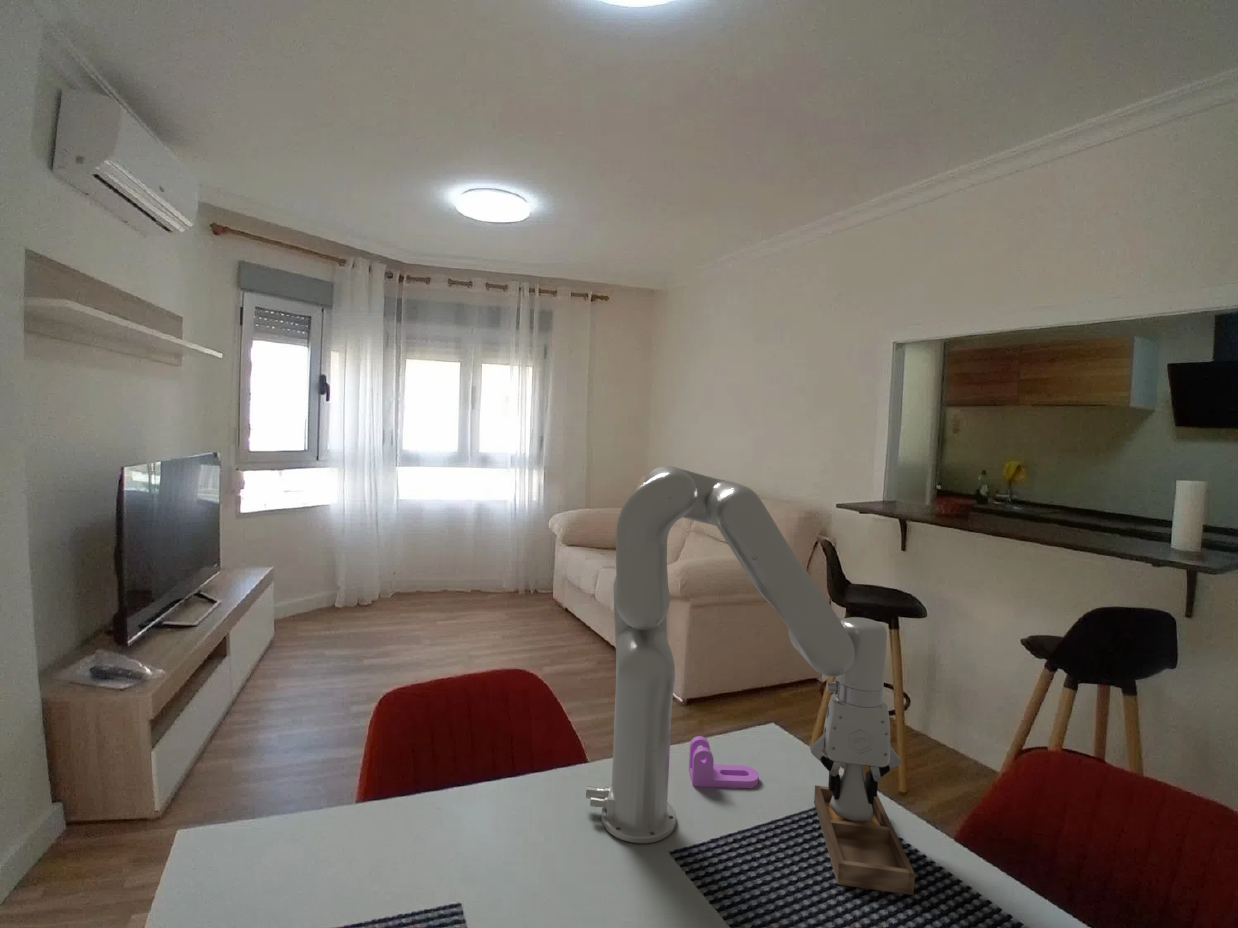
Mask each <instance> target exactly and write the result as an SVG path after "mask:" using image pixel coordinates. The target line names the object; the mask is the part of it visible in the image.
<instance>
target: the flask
mask: <svg viewBox="0 0 1238 928" xmlns="http://www.w3.org/2000/svg"><path fill="white" fill-rule="evenodd" d="M841 775H842V777H841V779H840V795H839V799H838V800H835V799H834V796H832V798H831V801H830V804H829V806H830V807H831V808H832V810H833V811H834V812H835V813H836V815H837V816H840V817H843V818H846V819H849V820H852V821H871V820H872V816H873V808H872V805H871V804H870V803H869V801H868V793H867V788H866V784H865V777H864V770H863V765H854V764H846V763H845V766H844V769H843V772H842V774H841Z"/></svg>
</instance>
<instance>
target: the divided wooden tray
mask: <svg viewBox="0 0 1238 928" xmlns="http://www.w3.org/2000/svg"><path fill="white" fill-rule="evenodd" d="M839 775H840V779H841V777H842V775H843V774H839ZM832 796H833V793H832V791H829V787H828V786H825V785H824V786H823V785H814V796H813V797H814V798H813V799H814V801H813V804H814V807H815V812H816V813H817V817H818V821H819V824H820V828H821V833H822V835H823V839H824V842H825V846H826V849H827V851H828V852H827V853H828V855H829V859H830V864H831V867H832V870H833V874H834V877H835V881H836V883H837V885H841V886H848V887H853V888H854V887H855V888H860V889H868V890H874V891H881V892H887V893H889V892H890V893H896V894H902V895H903V894H905V895H910V896H914V894H915V893H914V892H915V879H916V877H915V876H916V873H915V871H914V869H913V866H912V864H911V862H910V859H908V857H907V855H906V852H905V850H904V848H903V845H902V844H901V842H900V839H899V837H898V835H897V833H896V831H895V829H894V826H893V824H892V822H891V820H890V818H889V815H888V814H887V812H886V809H885V808H884V806H883V804H882V801H881V799H880V797H879V795H878V794H877V797H874V803H873V804H871V805H872V808H873V816H872V820H871V821H852V820H849V819H846V818H843V817H840V816H837V815H836V813H835V812H834V811H833V810H832V808H831V807H830V806H829V804H830V801H831V798H832Z"/></svg>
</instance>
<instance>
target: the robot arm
mask: <svg viewBox="0 0 1238 928" xmlns="http://www.w3.org/2000/svg"><path fill="white" fill-rule="evenodd" d="M682 518H683V519H688V520H691V521H695V522H698V523H703V524H708V525H712V526H715V527H717V529H718V530H719V532H720V533H721V535H722V537H723V538H724V540H725V541H726V543H727V545H728V546H729V548H730V549H731V552H732V553H733V554H734V556H735V558H736V559H737V560H738V562H739V564H740V566H741V567H742V569H743V571H744V572H745V573H746V575H747V577H748V578H749V580H750V581H751V584H753V586H754V587H755V589H756V590H757V591H758V593H759V594H760V595H761V597H763V598H764V600H765V601H766V602H768V604H769V605H770V606H771V607H772V608H773V609H774V611H775V612H776V613H777V614H778V615H779V617H780V618H781V619H782V621H783V623H785V625H786V627H787V628H788V638H789V641H790V643H791V644H792V646H793V648H794V649H795V650H796V651H797V653H799V655H801V657H803V659H804V660H805V661H807V663H808V664H809V665H810V666H811V667H812V669H814V670H815V671H816V672H818V673H819V674H821V675H824V676H826V677H831V678H833V677H834V680H833V682H826V691H827V692H831V693H832V694H831V695H830V698H829V701H828V705H827V709H826V714H825V721H824V726H823V734H821V736H820V737H819V738H818V739H817V740H815V741H814V743H812V744H811V746H810V747H809V750H810V753H811V755H812V756H813V757H815V758H816V759H817V760H818V761H820V763H821V764H822V765H823V767H824V768H825V769H826V770H827V771H828V785H827V787H829V791H832V793H833V796H834V799H835V800H838V799H839V795H840V775H841V774H840V769H841V766H842V764H845V765H846V764H854V765H862V767H868V770H867V771H866V773H865V777H864V780H865V784H866V788H867V793H868V801H869V803H870V804H873V803H874V797H877V795H878V788H879V787H878V785H879V782H880V781H881V780H882V777H884V776H885V775H887V774H888V772H890V770H891V769H895V768H896V767H898V766H899V765H901V763H902V761H901V759H900V758H899V756H898V754H897V753H896V751H895V750H894V749H893V747H892V746H891V724H890V723H891V722H890V714H889V708H888V704H886V703H885V702H884V684H885V672H886V671H885V670H886V669H885V668H886V656H887V655H886V654H887V643H888V642H887V641H888V640H887V639H888V631H887V629H886V627H885V626H884V625H883V624H882V622H881V623H880V622H879V621H876V620H874V619H871V618H866V617H859V616H858V617H857V616H853V617H852V616H850V617H846V618H845V617H838V615H837V613H836V612H835V610H834V609H833V608H832V605H831V604H830V603H829V602H828V600H827V598H826V596H825V595H823V593H822V592H821V590H820V588H819V587H818V586H817V585H816V584H815V581H814V580H813V579H812V578H811V576H810V575H809V573H808V571H807V569H806V568H805V567H804V565H803V564H802V563H801V561H800V560H799V558H798V556H796V554H795V552H794V551H793V549H792V548H791V546H790V545H789V543H788V542H787V540H786V538H785V537H784V535H783V534H782V531H780V529H779V527H778V525H777V524H776V522H775V520H774V519H773V517H772V516H771V514H770V512H769V510H768V509H767V507H766V506H765V504H764V502H763V501H762V500H761V497H759V495H758V494H757V493H756V492H755V491H754V490H753V489H752V488H750V487H748V486H746V485H742V484H739V483H736V482H734V481H733V482H732V481H729V480H724V479H719V478H715V477H712V476H707V475H704V474H701V473H697V472H694V471H693V472H692V471H690V470H687V469H683V468H679V467H677V466H671V465H661V466H659V467H657V468H654V469H653V470H652V471H650V472H649V473H648V474H647V476H646V477H645V479H644V481H643V483H642V484H641V485H640V486H638V487H637V488H636V489H635V490H634V491H633V492H632V493H631V495H630V496H629V497H628V498H627V499H626V501H625V503H624V504H623V506H622V507H621V510H620V513H619V515H618V518H617V523H616V532H615V533H616V535H615V552H616V553H615V571H616V572H615V573H616V576H615V578H614V582H613V613H614V617H613V618H614V635H615V662H616V663H615V664H616V665H615V666H616V667H615V670H616V671H615V674H616V675H615V696H614V697H615V700H614V717H613V745H612V747H613V750H612V771H611V773H612V774H611V784H610V786H605V788H603V787H598V786H592V785H587V787H586V790H585V791H586V793H585V798H586V799H590V801H589V802H590V803H589V806H590V807H596V808H599V807H600V808H601V814H600V815H601V823H602V826H603V827H604V828H605V830H606V831H607V832H608V833H610V834H611V835H612V836H614V837H615V838H617V839H619V840H621V841H625V842H627V843H628V842H629V843H633V844H651V843H652V844H653V843H655V842H659V841H662V840H663V839H666V837H668V836H669V835H671V833H673V831H674V829H675V827H676V822H677V821H676V819H677V818H676V817H677V816H676V811H675V810H674V808H673V806H672V805H671V804H670V803H669V802H668V798H669V797H668V793H669V772H670V771H669V770H670V753H671V752H670V751H671V728H672V725H671V724H672V709H673V700H674V699H673V698H674V691H675V683H676V665H675V660H674V656H673V653H672V650H671V646H670V644H669V641H668V633H667V632H668V631H667V614H668V612H669V609H670V608H669V607H670V602H671V596H670V588H669V581H668V580H669V578H668V576H669V575H668V538H669V533H670V531H671V529H672V527H673V526H674V525H675V523H677V522H678V521H679V520H681V519H682ZM824 749H825V752H823V750H824Z"/></svg>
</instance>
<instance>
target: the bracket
mask: <svg viewBox="0 0 1238 928" xmlns="http://www.w3.org/2000/svg"><path fill="white" fill-rule="evenodd" d="M709 743H710V742H709V741H708V739H707V738H706V737H705V736H701V735H698V736H694V737H693V738H691V740H690V743H689V754H688V755H689V757H688V758H689V759H688V772H689V777H690V781H691V786H692V787H706V786H707V787H708V788H710V787H711V788H738V789H741V788H742V789H743V788H744V789H751V788H755V787H756V786H758V785H759V780H760V779H759V776H760V774H759V772H758V771H757V769H755V768H753V767H751V766H747V765H741V764H714V762H715V761H714V755H713V753H712V750H711V747H710V744H709ZM699 746H700V747H699Z"/></svg>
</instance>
